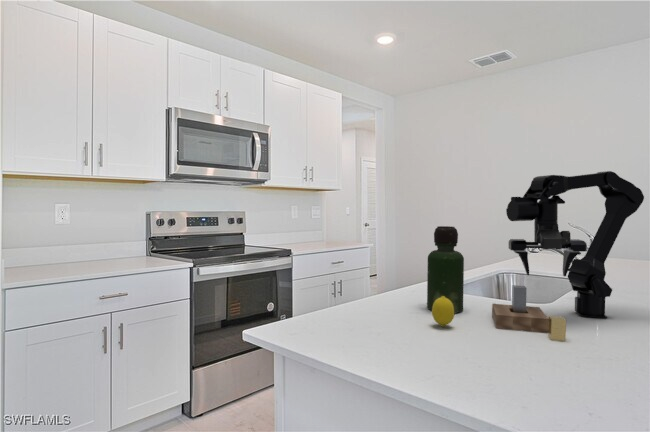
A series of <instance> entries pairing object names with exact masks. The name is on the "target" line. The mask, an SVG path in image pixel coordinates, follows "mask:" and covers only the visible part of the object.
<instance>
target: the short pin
mask: <svg viewBox="0 0 650 432" xmlns="http://www.w3.org/2000/svg"><path fill="white" fill-rule="evenodd" d="M548 319H549V324H548V333H547V335H548V338H549V340H550V341H555V340H557V342H566V340H567V339H566V336H567V335H566V333H567V330H566V329H567V320H566V318H565V317H563V316H560V315H559V316H557V315H548Z"/></svg>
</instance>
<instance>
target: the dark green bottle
mask: <svg viewBox="0 0 650 432" xmlns="http://www.w3.org/2000/svg"><path fill="white" fill-rule="evenodd" d="M433 240H434V241H433V243H434V246H436V247H437V249H435V250H432V251H431V252H430V253H428V256H427V272H426V273H427V274H426V275H427V277H426V278H427V280H426V281H427V282H426V283H427V286H426V287H427V288H426V290H427V291H426V298H427V299H426V308H428V310H430V311H432V307H433V304H434V302H435V300H436V299H438V298H441V297H442V296H445V298H447V299H449V300H450V301H451V302H452V304H453V307H454V314H457V313H461V312H463V310H464V281H465V279H464V278H465V277H464V275H465V272H464V271H465V268H464V267H465V258H464V255H463V254H462V253H461V252H460V251H458V250H455V247H457V246H458V242H459V233H458V230H457V228H456V227H455V226H450V225H449V226H448V225H447V226H443V225H441V226H436V228H435V229H434V232H433Z"/></svg>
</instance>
